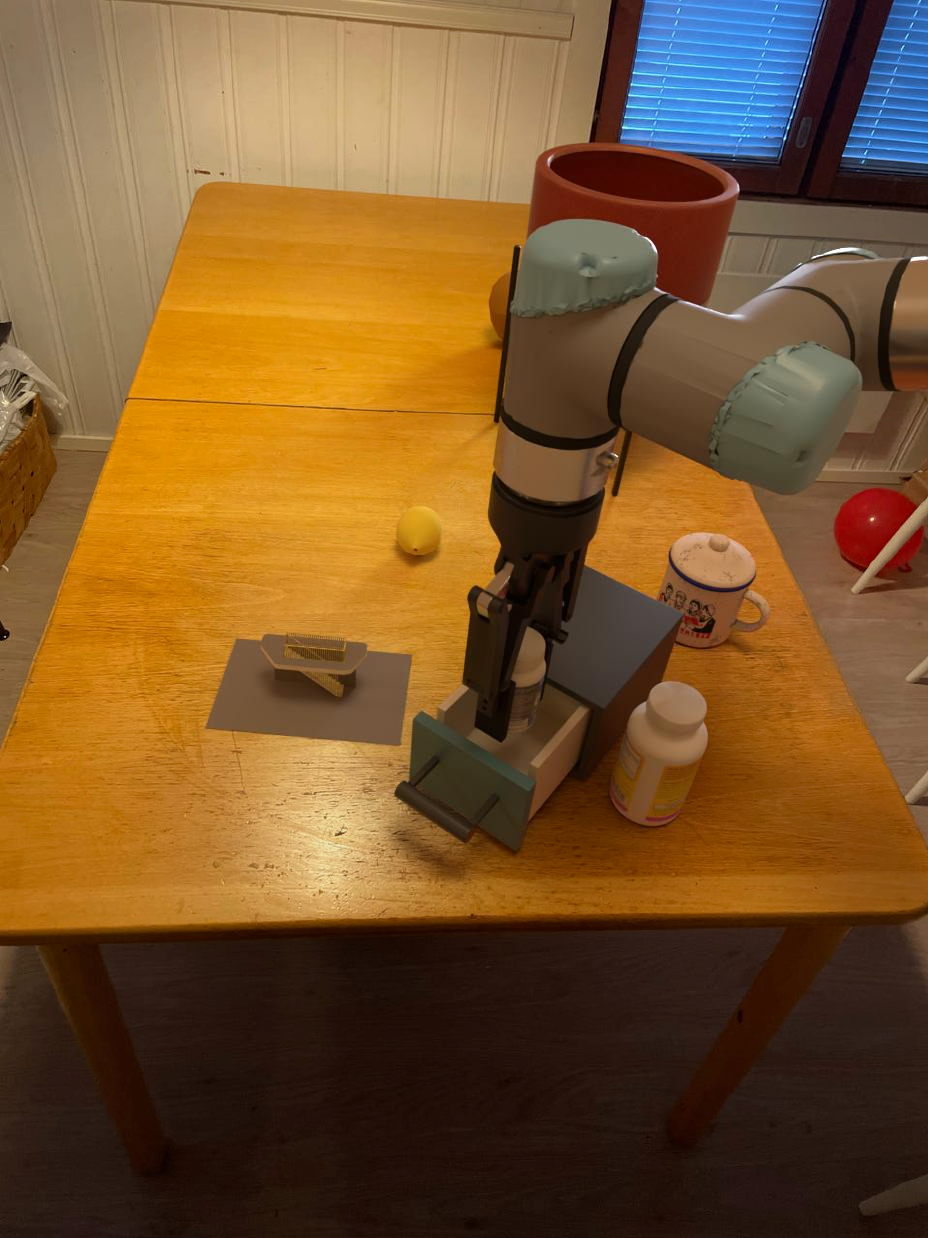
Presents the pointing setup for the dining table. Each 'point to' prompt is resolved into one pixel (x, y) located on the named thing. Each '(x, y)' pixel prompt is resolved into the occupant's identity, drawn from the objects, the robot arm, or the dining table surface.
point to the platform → (313, 689)
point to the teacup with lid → (710, 588)
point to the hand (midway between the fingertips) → (508, 712)
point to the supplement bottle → (660, 754)
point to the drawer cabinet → (611, 657)
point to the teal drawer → (491, 765)
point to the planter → (636, 217)
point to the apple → (499, 303)
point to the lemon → (419, 530)
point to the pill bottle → (527, 681)
